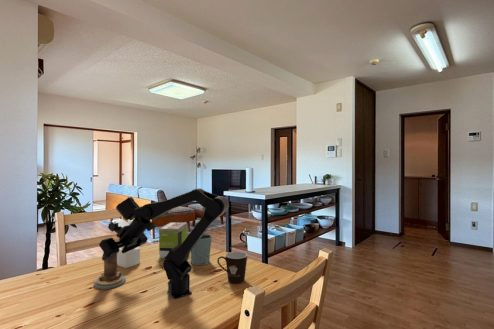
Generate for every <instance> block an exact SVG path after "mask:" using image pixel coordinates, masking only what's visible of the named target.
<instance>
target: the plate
mask: <svg viewBox="0 0 494 329" xmlns="http://www.w3.org/2000/svg"><path fill="white" fill-rule="evenodd" d="M126 279H127V278H126V276H124V275H123V280H122V281H121V282H119V283H117V284H114V285H109V286H100V285H97V279H96V280H95V281H94V282H93V288H95V289H97V290H109V289H115V288H118V287H120V286H122V285H124V284H125V283H126V281H127V280H126Z"/></svg>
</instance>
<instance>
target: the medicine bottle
mask: <svg viewBox="0 0 494 329" xmlns="http://www.w3.org/2000/svg"><path fill="white" fill-rule="evenodd" d="M124 247H125V246H124ZM124 247H121V248H119V252H118V253H117V267H122V268H124V269H128V268H131V267H134V266H137V265H140V263H141V262H140V261H141V256H140V255H141V248H140V247H137V248H135V249H132V250H130V251H128V252H126V253H122V250H123V248H124Z"/></svg>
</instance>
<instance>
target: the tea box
mask: <svg viewBox="0 0 494 329" xmlns="http://www.w3.org/2000/svg"><path fill="white" fill-rule="evenodd" d="M188 230H189V229H188V222H168V223H167V224H165V225H163V226H162V227H160V228H158V243H159V244H158V246H159V247H158V248H159V249H158V250H159V251H158V253H159V254H158V255H159V259H163V258H164V257H166V256H167V254H168V253H169V251H170V250H171V249H172V248H174V247H176V246H177V245H178V246H179V247H180V246H181V244H182V243H183V242H184V240H185V239H186V238H187V236H188V235H189V234H188Z"/></svg>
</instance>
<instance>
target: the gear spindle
mask: <svg viewBox="0 0 494 329" xmlns="http://www.w3.org/2000/svg"><path fill="white" fill-rule="evenodd" d="M121 275H122V271H118V265H117V254H116V255H115V256H113V257H111V258H109V259H107V260H105V261H103V272H102V273H101V274H100V276H99V277H98V278H99V281H106V282H110V281H114V280H118V279H120V276H121Z"/></svg>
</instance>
